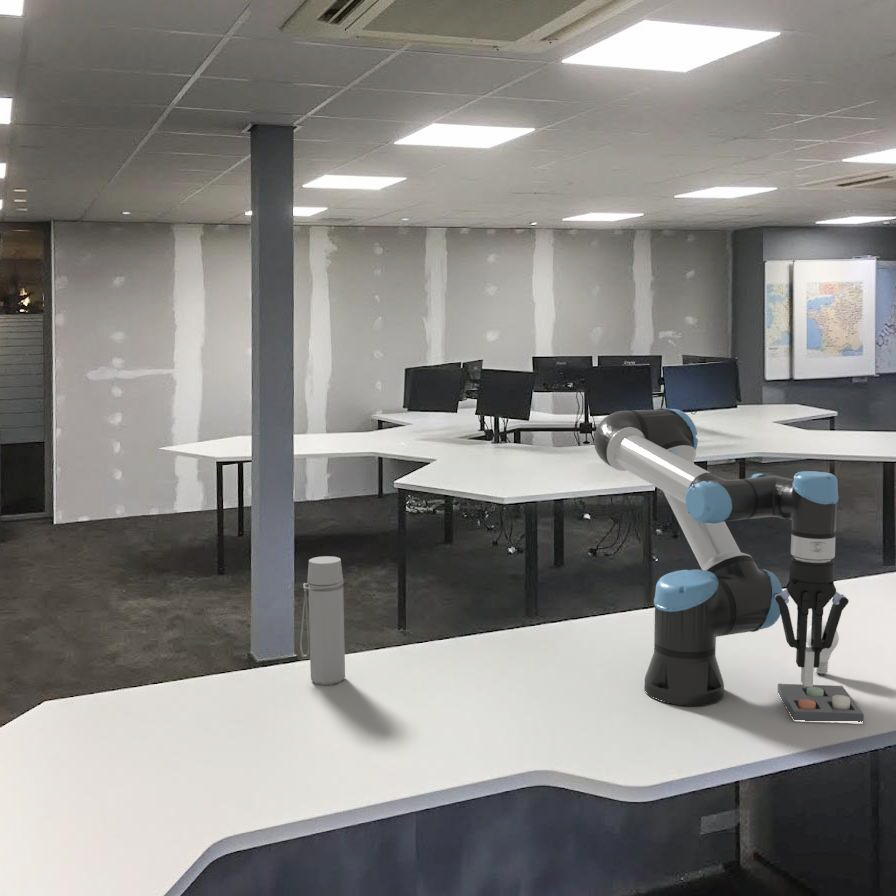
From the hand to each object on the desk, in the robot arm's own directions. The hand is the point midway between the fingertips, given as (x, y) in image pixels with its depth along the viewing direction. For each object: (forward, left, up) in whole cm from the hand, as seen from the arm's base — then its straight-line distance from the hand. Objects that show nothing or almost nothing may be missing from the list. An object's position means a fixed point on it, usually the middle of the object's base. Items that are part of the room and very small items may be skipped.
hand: (806, 683), depth 182 cm
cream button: (+6, 0, -5) cm, 8 cm away
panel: (+3, +3, -6) cm, 7 cm away
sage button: (+3, +6, -6) cm, 9 cm away
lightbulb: (+8, +22, -6) cm, 24 cm away
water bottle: (-93, +9, -6) cm, 93 cm away
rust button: (0, 0, -6) cm, 6 cm away
